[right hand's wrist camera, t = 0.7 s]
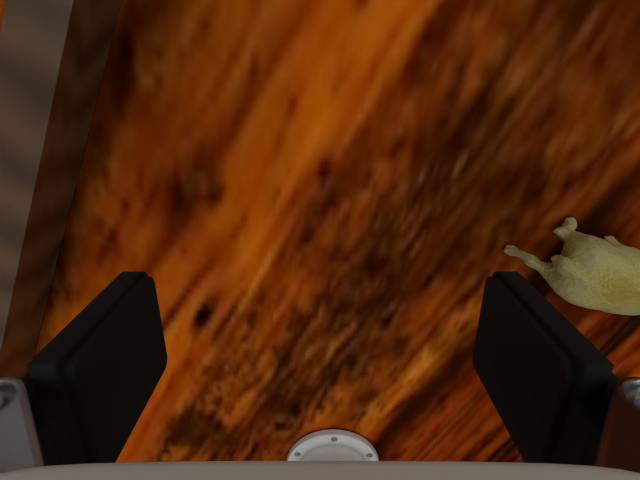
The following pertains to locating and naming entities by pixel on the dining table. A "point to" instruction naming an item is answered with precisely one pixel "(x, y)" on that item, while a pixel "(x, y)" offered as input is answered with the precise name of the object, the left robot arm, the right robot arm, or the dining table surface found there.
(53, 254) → the beam
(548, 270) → the toy
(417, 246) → the dining table surface
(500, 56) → the dining table surface
